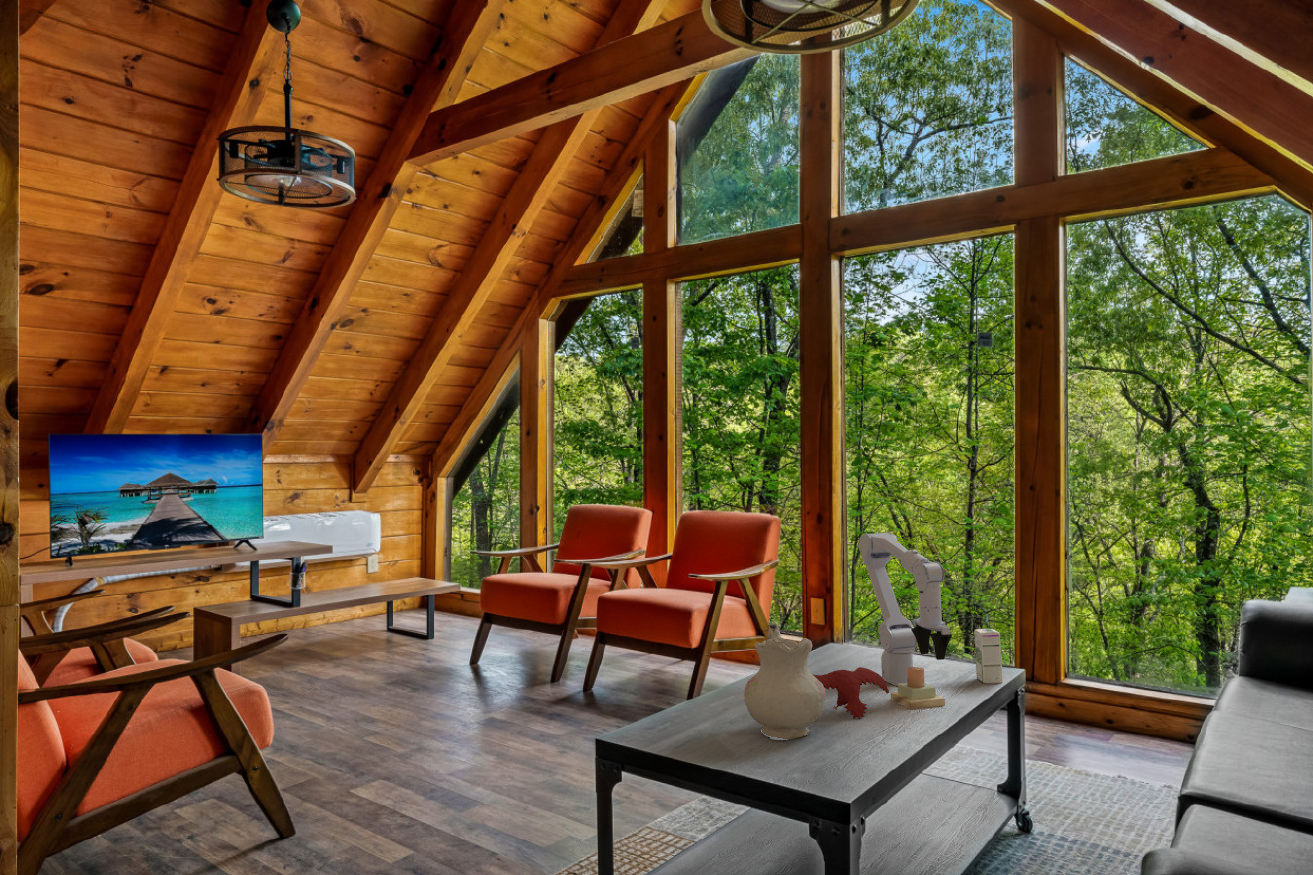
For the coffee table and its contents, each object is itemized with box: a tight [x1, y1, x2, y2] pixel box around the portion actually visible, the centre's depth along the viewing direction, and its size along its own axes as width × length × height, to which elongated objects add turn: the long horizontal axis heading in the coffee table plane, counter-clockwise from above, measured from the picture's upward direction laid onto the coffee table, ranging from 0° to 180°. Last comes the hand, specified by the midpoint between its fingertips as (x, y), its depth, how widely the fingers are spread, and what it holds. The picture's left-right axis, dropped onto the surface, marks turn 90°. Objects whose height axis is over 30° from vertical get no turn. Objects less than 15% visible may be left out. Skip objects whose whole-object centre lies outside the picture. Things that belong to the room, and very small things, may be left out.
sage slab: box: [897, 682, 937, 700], centre depth 230 cm, size 7×7×2 cm
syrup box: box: [974, 628, 1003, 684], centre depth 249 cm, size 6×6×14 cm
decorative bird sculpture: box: [811, 666, 890, 720], centre depth 222 cm, size 28×9×15 cm
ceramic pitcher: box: [743, 622, 826, 740], centre depth 209 cm, size 22×20×25 cm
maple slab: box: [890, 691, 946, 710], centre depth 229 cm, size 10×10×2 cm
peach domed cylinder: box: [907, 666, 925, 688], centre depth 230 cm, size 4×4×4 cm
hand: (932, 656), depth 236 cm, fingers open, 7 cm apart
